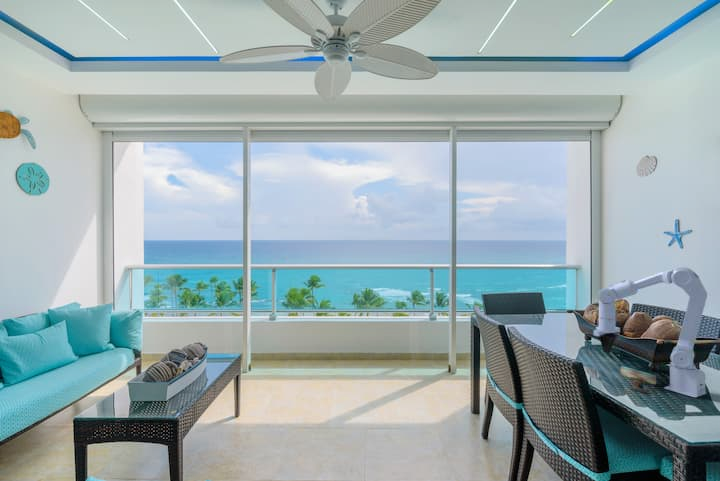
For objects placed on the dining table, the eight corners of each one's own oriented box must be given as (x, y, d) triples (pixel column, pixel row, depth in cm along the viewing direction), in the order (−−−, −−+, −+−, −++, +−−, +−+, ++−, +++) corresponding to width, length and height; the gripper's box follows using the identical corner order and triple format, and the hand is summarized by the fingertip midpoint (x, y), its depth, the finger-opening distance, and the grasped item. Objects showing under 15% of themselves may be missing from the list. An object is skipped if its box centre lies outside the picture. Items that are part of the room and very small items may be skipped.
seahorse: (634, 392, 141) (634, 387, 140) (627, 379, 154) (627, 374, 154) (653, 396, 138) (653, 391, 138) (644, 383, 151) (645, 378, 151)
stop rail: (656, 383, 148) (656, 375, 148) (654, 384, 148) (654, 375, 148) (622, 374, 159) (622, 366, 159) (620, 374, 159) (620, 366, 159)
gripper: (607, 314, 164) (607, 347, 164) (586, 318, 158) (585, 351, 158) (625, 317, 158) (625, 351, 158) (603, 321, 151) (603, 356, 151)
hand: (606, 352), depth 157 cm, fingers closed
